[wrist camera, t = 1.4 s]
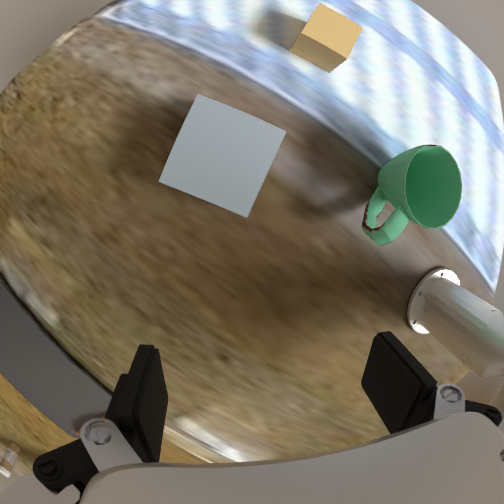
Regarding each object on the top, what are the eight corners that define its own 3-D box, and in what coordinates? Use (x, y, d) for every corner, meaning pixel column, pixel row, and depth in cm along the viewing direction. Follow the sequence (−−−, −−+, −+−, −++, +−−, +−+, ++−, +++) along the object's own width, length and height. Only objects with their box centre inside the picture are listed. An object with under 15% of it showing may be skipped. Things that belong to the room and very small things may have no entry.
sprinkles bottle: (12, 446, 47) (-1, 472, 34) (9, 439, 46) (-6, 466, 33) (23, 452, 48) (10, 479, 35) (19, 445, 47) (6, 474, 34)
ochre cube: (344, 43, 30) (362, 27, 24) (329, 73, 31) (347, 58, 25) (306, 22, 28) (319, 2, 23) (289, 51, 30) (301, 32, 24)
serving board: (-33, 316, 35) (-48, 329, 29) (-5, 250, 33) (-27, 261, 27) (87, 437, 46) (81, 456, 40) (145, 407, 44) (139, 431, 38)
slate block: (277, 136, 29) (286, 131, 25) (243, 210, 31) (247, 217, 27) (201, 104, 27) (197, 94, 23) (167, 179, 29) (158, 181, 25)
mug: (391, 132, 34) (437, 127, 24) (426, 184, 37) (471, 192, 27) (323, 201, 36) (358, 213, 26) (365, 251, 38) (403, 276, 29)
